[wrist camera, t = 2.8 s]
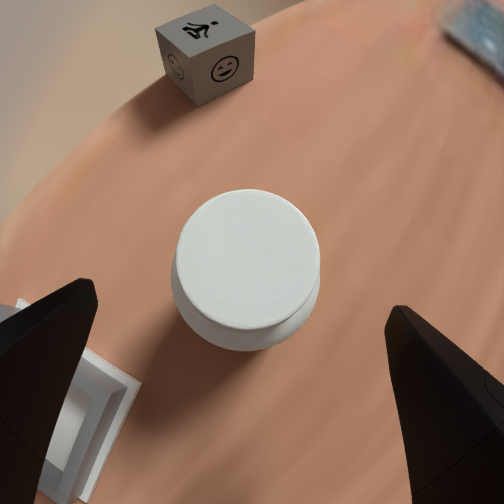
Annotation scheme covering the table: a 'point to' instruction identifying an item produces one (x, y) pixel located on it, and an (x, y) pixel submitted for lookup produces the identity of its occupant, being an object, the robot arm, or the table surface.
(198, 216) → the supplement bottle
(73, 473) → the tray
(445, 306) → the table surface
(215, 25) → the dice cube
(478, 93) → the table surface
